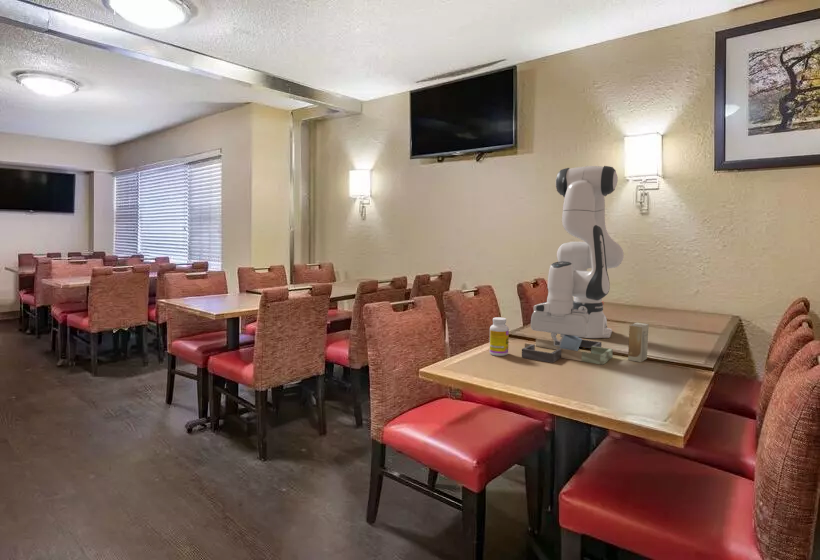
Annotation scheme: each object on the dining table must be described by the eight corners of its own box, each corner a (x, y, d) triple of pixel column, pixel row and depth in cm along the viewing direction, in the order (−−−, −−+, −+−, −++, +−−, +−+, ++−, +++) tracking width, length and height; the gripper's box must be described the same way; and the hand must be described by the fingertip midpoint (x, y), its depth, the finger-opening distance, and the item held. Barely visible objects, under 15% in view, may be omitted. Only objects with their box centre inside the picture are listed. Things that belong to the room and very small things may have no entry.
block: (563, 347, 173) (569, 333, 172) (576, 354, 171) (582, 339, 169) (558, 350, 169) (564, 335, 168) (571, 357, 167) (577, 341, 165)
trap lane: (544, 341, 189) (545, 334, 189) (618, 352, 173) (618, 344, 172) (514, 356, 168) (515, 347, 168) (595, 370, 151) (596, 361, 151)
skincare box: (634, 356, 168) (636, 322, 166) (647, 359, 164) (649, 323, 163) (627, 360, 163) (628, 324, 162) (640, 362, 160) (642, 326, 159)
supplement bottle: (508, 356, 167) (509, 320, 166) (489, 355, 169) (489, 319, 167) (508, 352, 174) (509, 317, 172) (489, 351, 175) (490, 316, 174)
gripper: (592, 309, 166) (590, 348, 168) (536, 303, 179) (535, 340, 180) (586, 311, 162) (584, 352, 163) (529, 305, 174) (528, 343, 176)
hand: (558, 345), depth 172 cm, fingers closed
